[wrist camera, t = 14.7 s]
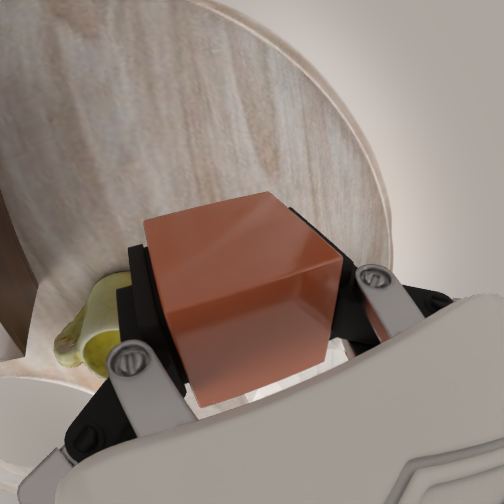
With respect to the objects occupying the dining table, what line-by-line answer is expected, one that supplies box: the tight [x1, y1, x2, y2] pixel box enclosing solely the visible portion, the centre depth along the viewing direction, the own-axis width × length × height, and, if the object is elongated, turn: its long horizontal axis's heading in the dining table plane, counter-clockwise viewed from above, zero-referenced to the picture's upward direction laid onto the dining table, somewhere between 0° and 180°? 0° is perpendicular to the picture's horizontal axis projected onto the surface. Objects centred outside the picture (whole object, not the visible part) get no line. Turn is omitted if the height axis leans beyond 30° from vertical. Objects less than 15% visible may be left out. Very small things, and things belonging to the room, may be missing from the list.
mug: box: [54, 271, 132, 381], centre depth 27 cm, size 12×10×10 cm
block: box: [143, 192, 343, 408], centre depth 10 cm, size 4×4×4 cm
